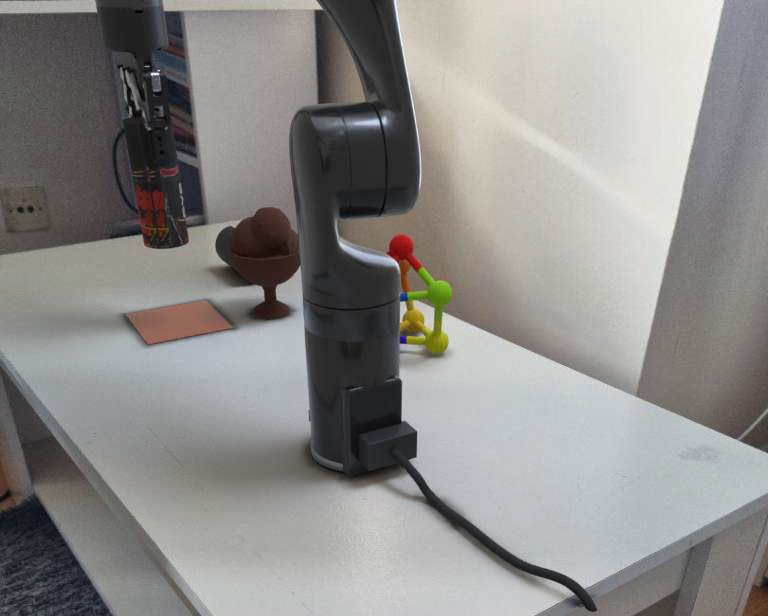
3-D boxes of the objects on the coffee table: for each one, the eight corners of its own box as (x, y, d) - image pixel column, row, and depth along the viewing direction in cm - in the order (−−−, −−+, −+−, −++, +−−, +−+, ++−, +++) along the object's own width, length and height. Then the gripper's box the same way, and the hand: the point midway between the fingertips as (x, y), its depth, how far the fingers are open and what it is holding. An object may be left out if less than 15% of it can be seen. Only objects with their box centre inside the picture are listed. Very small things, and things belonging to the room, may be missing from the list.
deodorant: (139, 239, 109) (118, 117, 101) (183, 233, 111) (166, 114, 103) (148, 251, 105) (127, 125, 96) (193, 245, 107) (176, 121, 98)
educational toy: (331, 348, 110) (321, 234, 102) (409, 328, 115) (405, 219, 108) (392, 380, 98) (386, 254, 90) (476, 356, 104) (477, 236, 96)
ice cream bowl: (313, 299, 122) (308, 196, 113) (300, 328, 113) (293, 218, 104) (245, 297, 123) (234, 194, 114) (226, 325, 113) (213, 216, 105)
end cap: (217, 269, 133) (212, 228, 129) (257, 262, 136) (253, 221, 132) (241, 287, 126) (236, 244, 122) (282, 279, 129) (279, 237, 125)
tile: (233, 328, 113) (233, 327, 113) (148, 344, 108) (148, 343, 108) (205, 300, 121) (205, 300, 121) (126, 315, 117) (126, 314, 117)
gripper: (83, 0, 96) (111, 151, 106) (111, 6, 86) (139, 173, 95) (145, -2, 99) (167, 145, 109) (179, 4, 89) (200, 166, 98)
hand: (153, 158), depth 102 cm, fingers closed on deodorant, 6 cm apart
